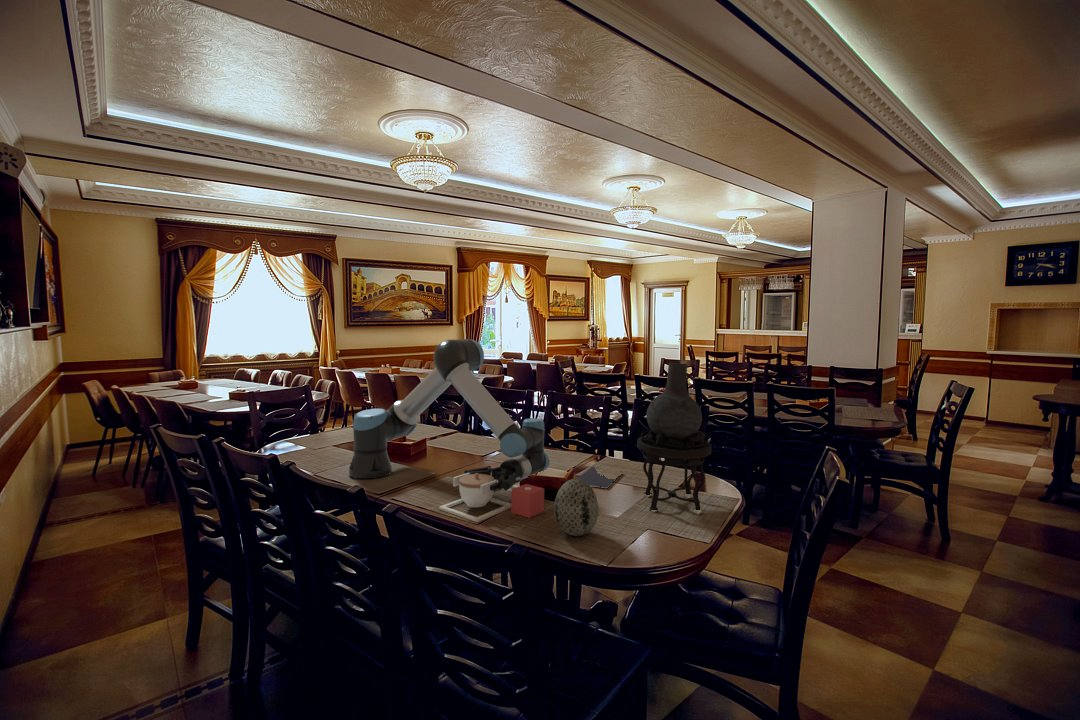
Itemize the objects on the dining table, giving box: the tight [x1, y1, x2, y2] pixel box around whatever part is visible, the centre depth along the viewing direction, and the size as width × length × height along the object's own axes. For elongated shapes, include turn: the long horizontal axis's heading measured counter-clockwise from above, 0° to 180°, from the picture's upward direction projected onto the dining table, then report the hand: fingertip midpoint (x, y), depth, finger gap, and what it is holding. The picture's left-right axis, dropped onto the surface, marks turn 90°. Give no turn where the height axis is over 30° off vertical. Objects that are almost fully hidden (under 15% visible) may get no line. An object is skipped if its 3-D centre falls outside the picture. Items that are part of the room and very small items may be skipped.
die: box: [510, 483, 545, 519], centre depth 148 cm, size 7×7×7 cm
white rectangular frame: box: [438, 484, 520, 523], centre depth 157 cm, size 31×16×1 cm, turn 143°
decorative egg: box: [553, 478, 599, 537], centre depth 133 cm, size 12×12×15 cm
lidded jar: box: [458, 473, 494, 508], centre depth 151 cm, size 11×11×9 cm
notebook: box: [576, 466, 615, 489], centre depth 183 cm, size 13×2×21 cm
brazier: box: [636, 362, 713, 511], centre depth 156 cm, size 22×22×45 cm
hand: (467, 485), depth 147 cm, fingers closed on lidded jar, 11 cm apart
